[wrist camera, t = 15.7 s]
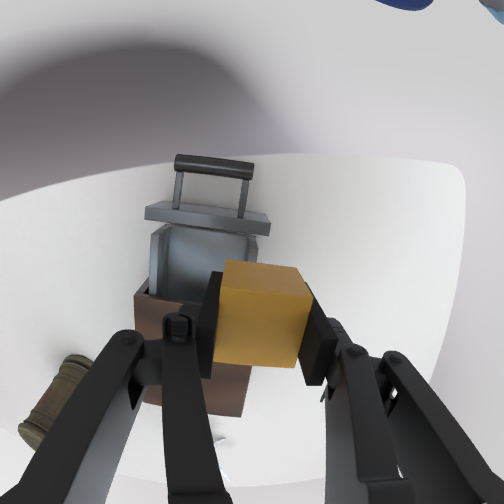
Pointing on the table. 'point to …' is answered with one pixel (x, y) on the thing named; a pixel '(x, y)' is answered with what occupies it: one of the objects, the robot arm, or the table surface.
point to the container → (53, 400)
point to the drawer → (200, 233)
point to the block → (261, 314)
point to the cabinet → (223, 374)
